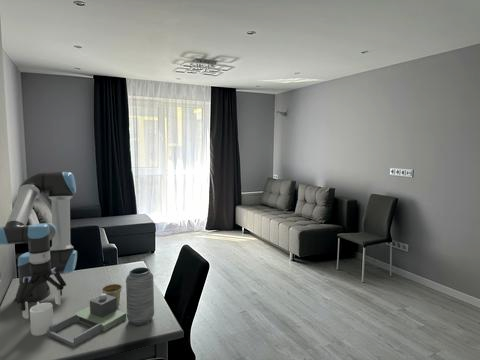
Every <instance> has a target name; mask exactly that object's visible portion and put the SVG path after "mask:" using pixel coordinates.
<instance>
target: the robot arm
mask: <svg viewBox="0 0 480 360" xmlns="http://www.w3.org/2000/svg"><path fill="white" fill-rule="evenodd" d="M17 192H18V196H17V198H16V200H15V202H14V204H13V207H12V210H11V212H10V214H9V216H8V219H7V221H6V223H5V226H1V227H0V245H7V246H8V245H17V244H28V251H27V252H25V253H22V254H21V255H19V257H18V258H17V272H18V286H17V290H16V293H15V298H14V300H13V302H14V303H16V304H19V310H20V311H22V318H24V319H29V317H30V315H29V304H28V303H32V302H36V301H37V302H38V301H40V300H42V299H44V298H47V297H48V296H49V295H50V294H51V288H50V285H53V286H54V287H55V289H54V301H55V304H56V305H59V306H60V305H61V304H62V300H61V299H62V297H61V296H63V290H64V287H66V286H67V283H66V281H65V280H64V278H63V277H62V275H65V274H70V273H73V272H74V270H75V269H76V266H77V260H78V250H75V249H74V246H73V245H72V243H71V199H72V198H73V197H74V194H76V193H77V185H76V178H75V175H74V174H73V173H72V172H70V171H53V172H52V171H51V172H48V171H47V172H46V171H45V172H42V171H41V172H37V173H34V174H32V175H30V176H29V177H26V179H24V180H23V181H22V182H21V184H20V186H19V187H18V189H17ZM41 195H47V196H48V198H49V199H50V200H51V223H50V222H44V223H36V224H35V223H34V224H30V225H29V224H28V221H29V219H30V216H31V213H32V210H33V208H34V205H35V203H36V199H38V198H39V197H40V196H41ZM27 224H28V225H27ZM50 242H51V243H50ZM51 276H54V278H55V279H56V280H54V279H53V277H51ZM48 282H49V283H50V285H49V283H48Z"/></svg>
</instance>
